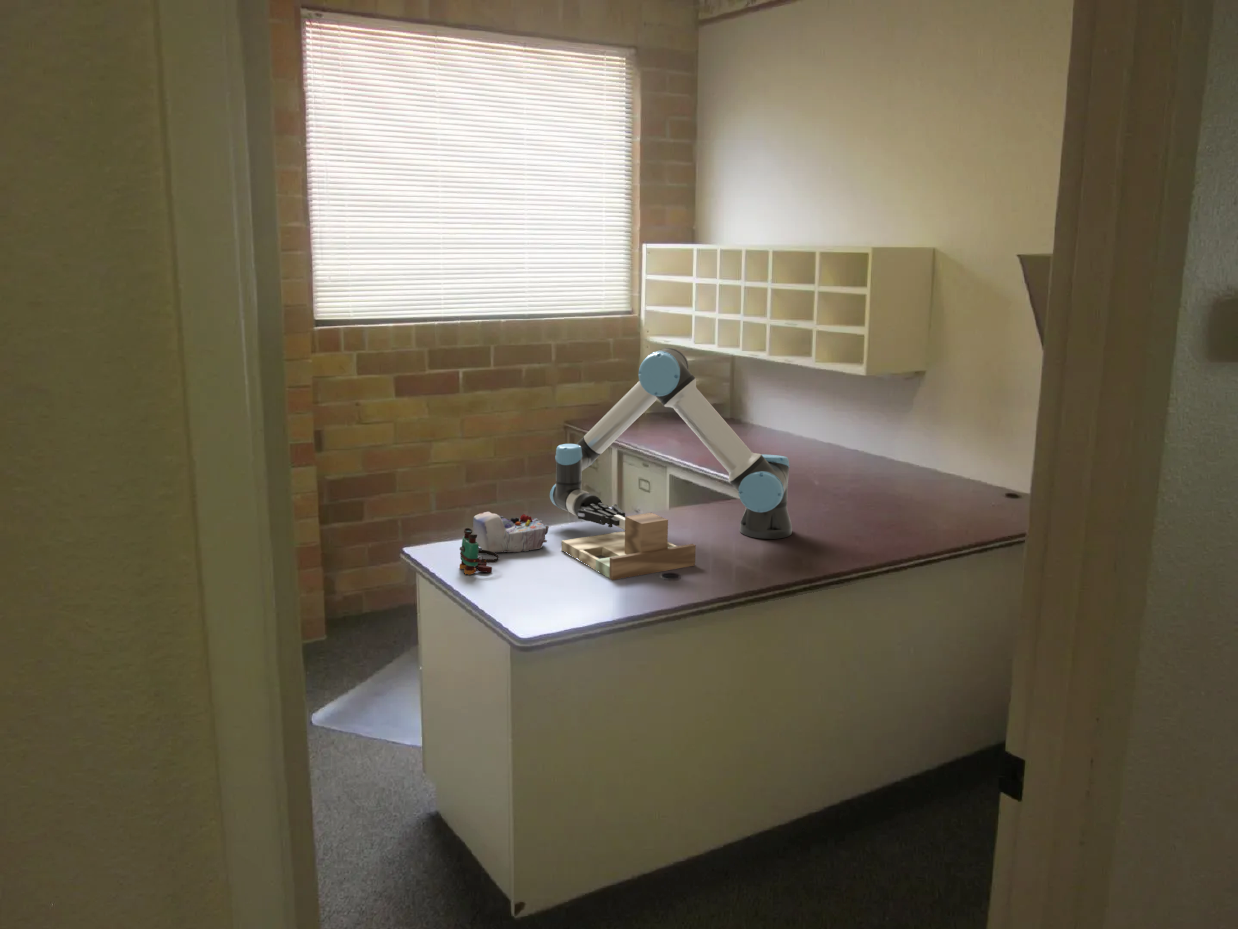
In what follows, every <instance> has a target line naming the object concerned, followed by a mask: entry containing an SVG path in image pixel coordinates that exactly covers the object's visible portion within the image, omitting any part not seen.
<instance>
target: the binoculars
mask: <svg viewBox="0 0 1238 929" xmlns="http://www.w3.org/2000/svg"><path fill="white" fill-rule="evenodd" d="M463 533H464V535H463V536H462V539H461V540H462V541H461V546H460V547H459V551H460V553H459V554H460V555H459V556H460V560H461V561H460V562H459V569H460V570H464V573H465V574H464V575H466V574H468V576H470V575H473V574H475V573H476V572H481V573H492V570H493V566H490V565H488V564H494V563H498V561H499V560H500V555H499V554H497V552H496V553H494V552H491V551H487V550H483V549H479V548H480V547H479V543H477V542H476V538H477V534H474V533H473V529H472V528H470V527H465V528H464V529H463ZM479 554H482V556H479ZM483 555H489V556H492V557H494V558H484V556H483Z"/></svg>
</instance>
